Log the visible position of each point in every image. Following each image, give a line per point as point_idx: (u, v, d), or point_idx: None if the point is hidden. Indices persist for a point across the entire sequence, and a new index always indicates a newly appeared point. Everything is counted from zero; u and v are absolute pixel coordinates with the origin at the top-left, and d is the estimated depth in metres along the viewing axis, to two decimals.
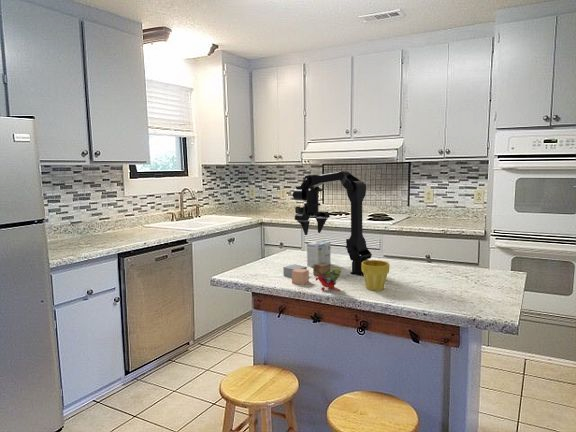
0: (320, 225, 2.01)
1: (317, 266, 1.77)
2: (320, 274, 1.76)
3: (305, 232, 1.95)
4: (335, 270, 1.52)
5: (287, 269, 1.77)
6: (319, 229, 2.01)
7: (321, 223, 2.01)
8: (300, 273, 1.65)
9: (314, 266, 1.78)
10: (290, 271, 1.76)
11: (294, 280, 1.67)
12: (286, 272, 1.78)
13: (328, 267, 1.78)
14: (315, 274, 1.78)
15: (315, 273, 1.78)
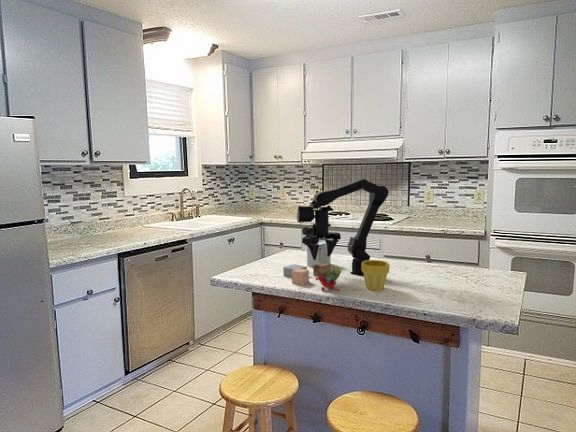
0: (330, 248, 1.80)
1: (317, 266, 1.77)
2: (320, 274, 1.76)
3: (314, 257, 1.74)
4: (335, 270, 1.52)
5: (287, 269, 1.77)
6: (329, 252, 1.80)
7: (331, 246, 1.80)
8: (300, 273, 1.65)
9: (314, 266, 1.78)
10: (290, 271, 1.76)
11: (294, 280, 1.67)
12: (286, 272, 1.77)
13: (328, 267, 1.78)
14: (315, 274, 1.78)
15: (315, 273, 1.78)
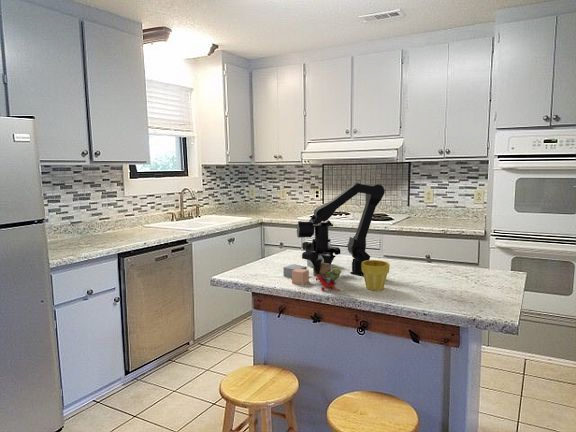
0: None
1: None
2: (320, 274, 1.76)
3: (316, 271, 1.76)
4: (335, 270, 1.52)
5: (287, 269, 1.77)
6: None
7: (328, 261, 1.79)
8: (300, 273, 1.65)
9: None
10: (291, 271, 1.75)
11: (294, 280, 1.67)
12: (286, 272, 1.77)
13: (328, 267, 1.78)
14: (315, 274, 1.78)
15: (315, 273, 1.78)
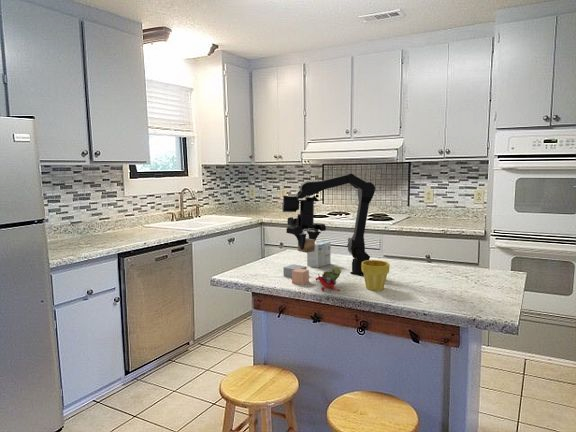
0: None
1: None
2: (304, 249, 1.75)
3: (301, 246, 1.75)
4: (335, 270, 1.52)
5: (288, 269, 1.76)
6: None
7: (313, 237, 1.78)
8: (300, 273, 1.65)
9: None
10: (291, 271, 1.75)
11: (294, 280, 1.67)
12: (286, 272, 1.77)
13: (313, 242, 1.76)
14: (300, 249, 1.77)
15: None
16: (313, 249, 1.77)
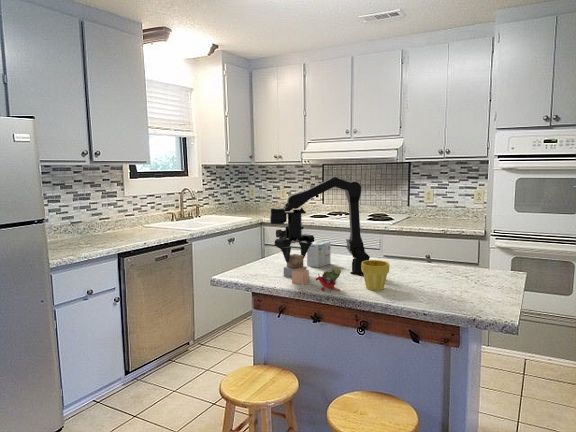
0: (304, 250, 1.80)
1: (290, 257, 1.76)
2: (293, 265, 1.75)
3: (286, 259, 1.74)
4: (335, 270, 1.52)
5: (288, 269, 1.76)
6: None
7: (305, 248, 1.80)
8: (300, 273, 1.65)
9: None
10: (291, 271, 1.75)
11: (294, 280, 1.67)
12: (286, 273, 1.77)
13: (301, 258, 1.77)
14: (288, 265, 1.78)
15: (289, 265, 1.77)
16: (302, 265, 1.78)
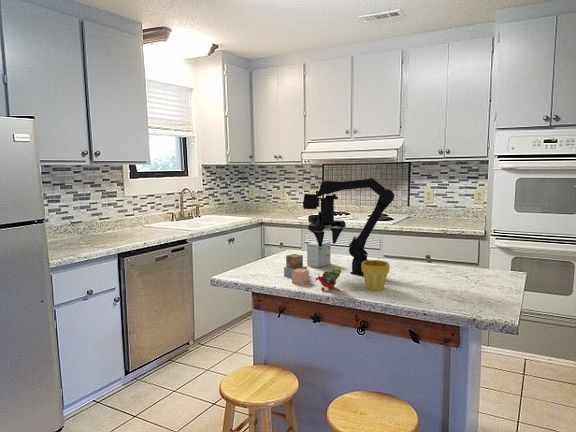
0: (335, 235, 1.85)
1: (290, 257, 1.76)
2: (292, 265, 1.76)
3: (319, 243, 1.79)
4: (335, 270, 1.52)
5: (288, 269, 1.76)
6: (334, 240, 1.86)
7: (336, 233, 1.85)
8: (300, 273, 1.65)
9: (287, 257, 1.78)
10: None
11: (294, 280, 1.67)
12: (287, 273, 1.77)
13: (301, 258, 1.77)
14: (288, 265, 1.78)
15: (288, 265, 1.77)
16: (301, 265, 1.78)
